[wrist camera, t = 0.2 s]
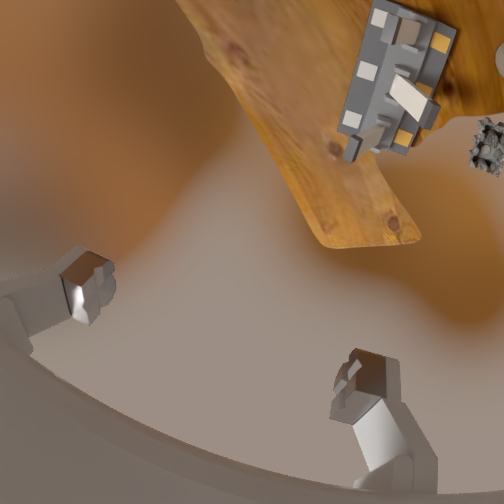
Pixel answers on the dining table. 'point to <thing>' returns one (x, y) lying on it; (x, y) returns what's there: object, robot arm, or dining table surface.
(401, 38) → the lever inner
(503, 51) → the travel mug
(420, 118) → the lever middle
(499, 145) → the egg carton
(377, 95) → the switch panel
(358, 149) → the lever outer
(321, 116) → the dining table surface
